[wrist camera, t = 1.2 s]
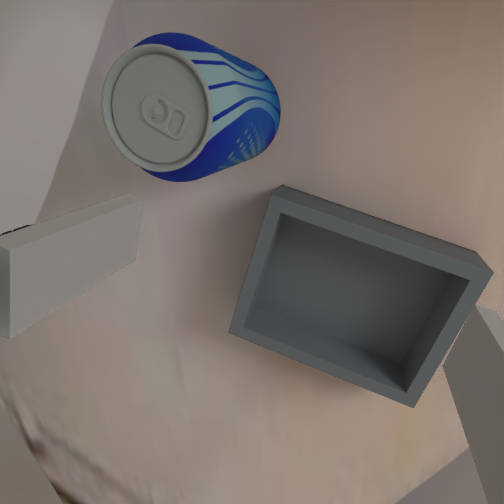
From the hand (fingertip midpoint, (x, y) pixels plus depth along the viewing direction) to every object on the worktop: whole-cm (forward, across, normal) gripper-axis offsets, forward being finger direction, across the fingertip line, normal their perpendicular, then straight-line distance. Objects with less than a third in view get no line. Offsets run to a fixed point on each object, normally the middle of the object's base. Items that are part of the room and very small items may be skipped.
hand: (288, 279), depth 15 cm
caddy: (+23, +4, -9) cm, 25 cm away
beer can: (+23, -10, +4) cm, 25 cm away
